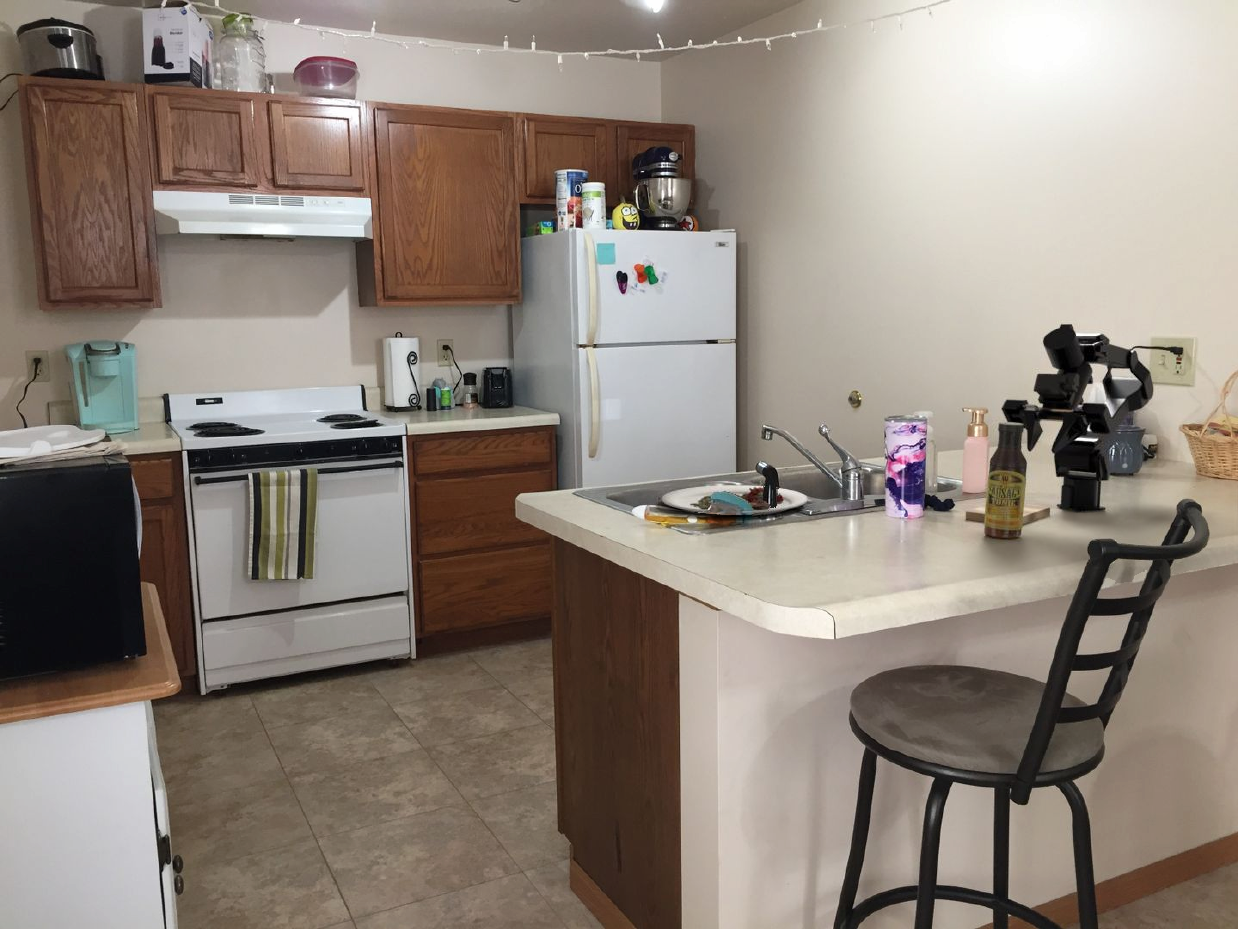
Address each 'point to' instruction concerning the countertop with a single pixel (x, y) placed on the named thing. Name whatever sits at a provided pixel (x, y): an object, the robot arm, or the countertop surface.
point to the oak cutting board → (1028, 514)
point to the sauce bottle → (1006, 484)
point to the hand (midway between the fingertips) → (1040, 450)
